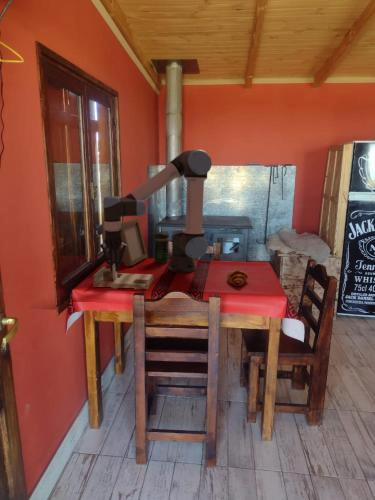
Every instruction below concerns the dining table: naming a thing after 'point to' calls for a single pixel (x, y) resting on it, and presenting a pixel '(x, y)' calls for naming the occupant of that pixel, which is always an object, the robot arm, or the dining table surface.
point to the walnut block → (108, 275)
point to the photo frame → (132, 243)
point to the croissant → (237, 277)
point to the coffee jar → (162, 247)
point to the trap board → (123, 280)
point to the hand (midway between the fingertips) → (115, 277)
